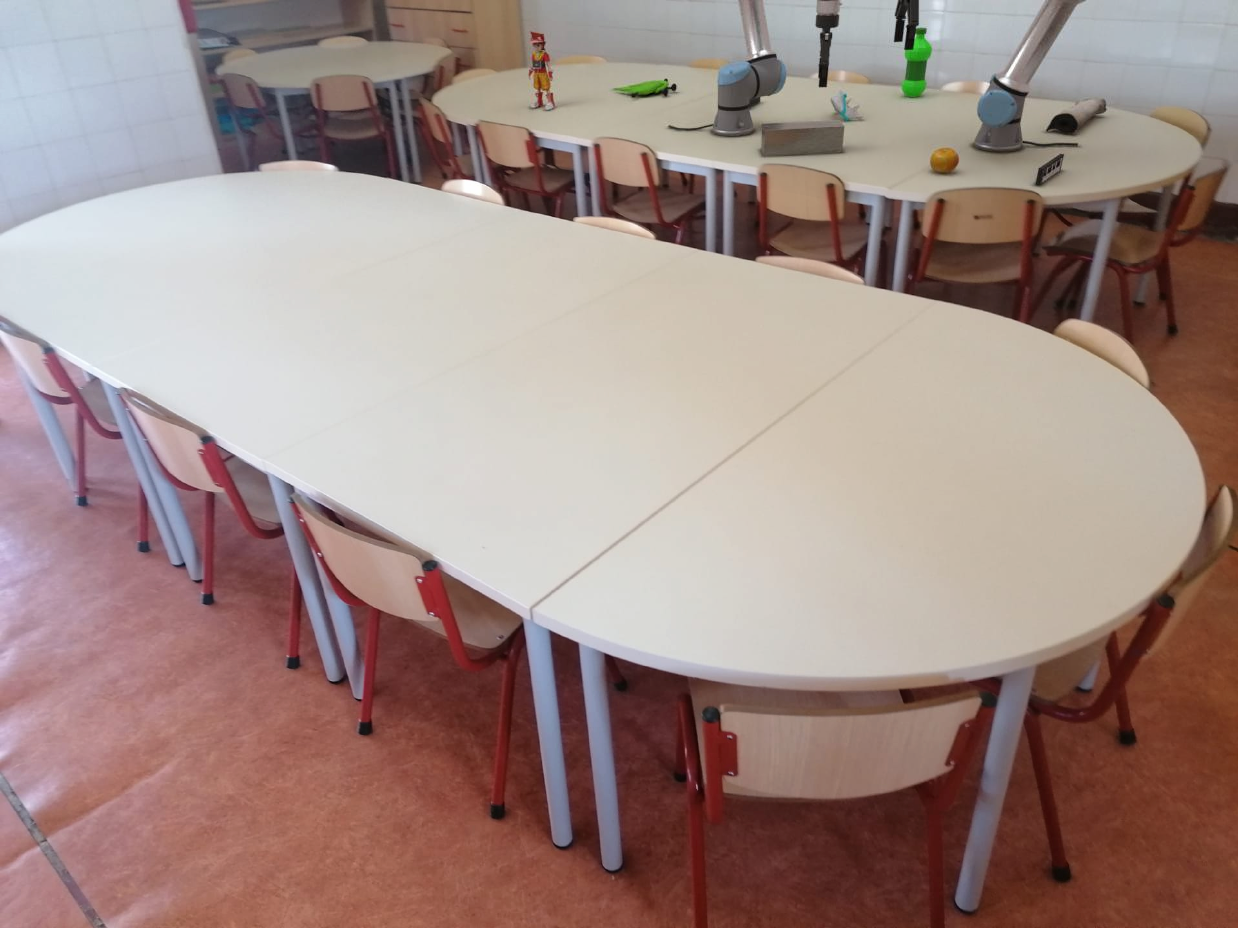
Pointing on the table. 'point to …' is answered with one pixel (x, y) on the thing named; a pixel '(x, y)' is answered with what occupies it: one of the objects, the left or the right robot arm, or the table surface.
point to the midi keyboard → (1049, 169)
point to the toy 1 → (541, 71)
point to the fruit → (944, 160)
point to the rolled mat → (1077, 115)
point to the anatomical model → (845, 107)
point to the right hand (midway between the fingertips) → (903, 46)
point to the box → (802, 138)
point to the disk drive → (754, 101)
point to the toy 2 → (648, 88)
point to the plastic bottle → (916, 65)
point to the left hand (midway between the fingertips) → (822, 82)
